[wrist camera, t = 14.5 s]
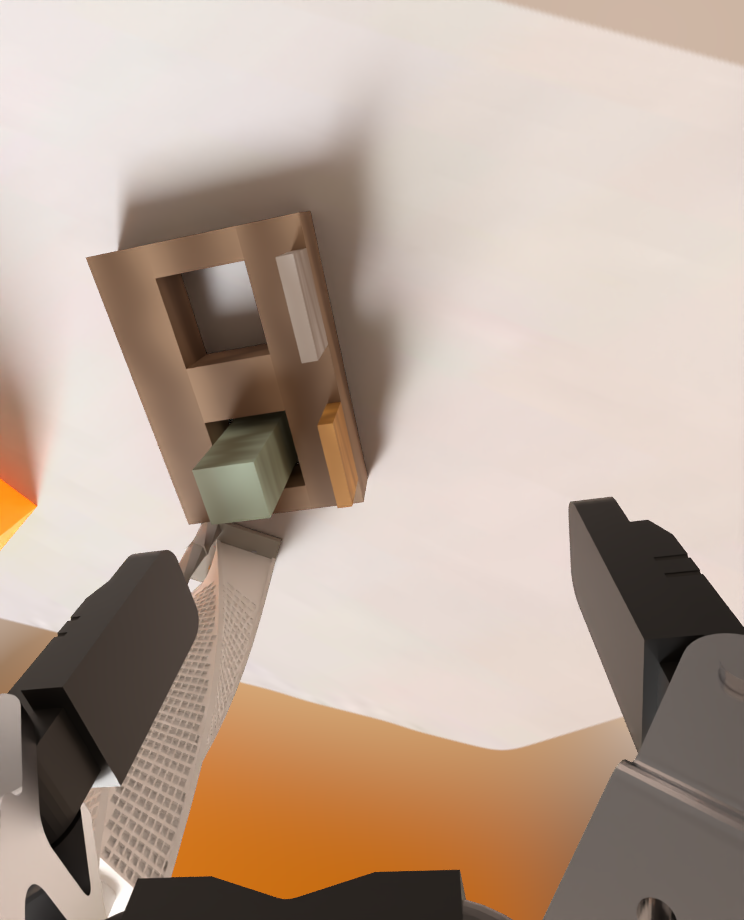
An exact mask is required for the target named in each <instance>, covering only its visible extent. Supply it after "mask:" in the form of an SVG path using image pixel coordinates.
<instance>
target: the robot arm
mask: <svg viewBox="0 0 744 920" xmlns="http://www.w3.org/2000/svg"><path fill="white" fill-rule="evenodd" d="M569 534H570V557H571V574H572V581H573V586H574V591H575V595H576V599H577V602H578V604H579V607H580V609H581V612H582V614H583V617H584V619H585V622H586V624H587V627H588V629H589V632H590V634H591V637H592V639H593V642H594V644H595V647H596V649H597V652H598V654H599V657H600V659H601V662H602V664H603V667H604V669H605V672H606V674H607V677H608V679H609V682H610V684H611V687H612V689H613V692H614V694H615V697H616V699H617V702H618V704H619V707H620V709H621V712H622V714H623V717H624V719H625V722H626V724H627V727H628V729H629V732H630V734H631V737H632V739H633V742H634V744H635V747H636V749H637V752H638V755H637V757H636V758H635V760H634V761H633V762H630V761H627V760H622V761H621V762H620V763H619V764H618V766H617V767H616V769H615V770H614V772H613V774H612V776H611V777H610V779H609V781H608V783H607V785H606V788H605V790H604V792H603V794H602V796H601V798H600V800H599V802H598V804H597V807H596V809H595V811H594V813H593V815H592V817H591V819H590V821H589V823H588V825H587V828H586V830H585V832H584V834H583V836H582V838H581V840H580V842H579V844H578V847H577V849H576V851H575V853H574V855H573V857H572V859H571V861H570V863H569V866H568V868H567V870H566V872H565V874H564V876H563V878H562V880H561V882H560V884H559V887H558V889H557V891H556V893H555V895H554V897H553V899H552V901H551V903H550V905H549V908H548V910H547V912H546V914H545V916H544V918H543V920H744V627H743V626H742V624H741V623H740V622H739V620H738V619H737V618H736V616H735V615H734V614H733V613H732V611H731V610H730V609H729V607H728V606H727V605H726V603H725V602H724V601H723V599H722V598H721V597H720V596H719V594H718V593H717V592H716V590H715V589H714V588H713V586H712V585H711V584H710V583H709V581H708V580H707V579H706V577H705V576H704V575H703V574H701V573H700V569H699V568H698V567H697V566H696V564H695V563H694V562H693V560H692V559H691V558H688V555H687V552H686V551H685V550H684V549H683V547H682V546H681V545H680V543H679V542H678V541H677V539H676V538H675V537H674V535H673V534H671V533H669V532H668V531H666V530H664V529H663V528H661V527H659V526H658V525H656V524H654V523H653V522H651V521H649V520H642V521H634V522H630V521H629V520H628V518H627V517H626V515H625V514H624V512H623V511H622V509H621V508H620V506H619V505H618V503H617V502H616V500H615V499H614V498H613V497H605V498H597V499H589V500H581V501H572V502H570V504H569ZM198 627H199V616H198V610H197V607H196V604H195V602H194V599H193V597H192V594H191V592H190V590H189V587H188V585H187V582H186V580H185V577H184V575H183V572H182V570H181V568H180V565H179V563H178V560H177V558H176V556H175V555H174V554H173V553H172V552H171V551H169V550H162V551H154V552H146V553H138V554H132V555H131V556H129V557H128V558H127V559H126V561H125V562H124V563H123V564H122V565H121V567H120V568H119V569H118V570H117V572H116V573H115V574H114V575H113V577H112V578H111V579H110V580H109V581H108V582H107V583H106V584H104V585H103V586H102V587H100V588H99V589H98V590H96V591H95V592H94V593H93V594H91V595H90V596H89V597H87V598H86V599H85V601H84V602H83V603H82V604H81V605H80V607H79V608H78V609H77V610H76V611H75V613H74V614H73V615H72V616H71V621H67V622H66V624H65V625H64V626H63V627H62V628H61V630H60V631H59V632H58V637H54V638H53V639H52V640H51V642H50V643H49V644H48V645H47V646H46V648H45V649H44V650H43V651H42V653H41V654H40V655H39V656H38V657H37V658H36V660H35V661H34V662H33V663H32V664H31V666H30V667H29V668H28V669H27V671H26V672H25V673H24V674H23V675H22V677H21V678H20V679H19V680H18V681H17V683H16V684H15V685H14V686H13V687H12V689H11V690H10V691H9V692H8V693H7V694H0V920H512V919H511V918H509V917H507V916H506V915H504V914H502V913H499V912H497V911H495V910H493V909H491V908H488V907H486V906H484V905H481V904H478V903H475V902H471V901H468V900H466V898H465V893H464V888H463V883H462V878H461V874H460V870H437V871H399V872H374V873H371V874H368V875H365V876H362V877H359V878H355V879H352V880H349V881H346V882H343V883H340V884H337V885H334V886H331V887H328V888H325V889H322V890H318V891H316V892H312V893H309V894H306V895H303V896H300V897H297V898H293V899H280V898H276V897H273V896H270V895H267V894H264V893H261V892H258V891H255V890H252V889H248V888H245V887H242V886H239V885H236V884H233V883H230V882H227V881H224V880H221V879H218V878H215V877H212V876H211V877H210V876H209V877H171V878H138V879H137V881H136V884H135V886H134V889H133V891H132V893H131V896H130V898H129V901H128V903H127V906H126V908H125V910H124V911H122V912H120V913H117V914H115V915H113V916H111V917H109V918H107V914H106V910H105V906H104V900H103V893H102V886H101V879H100V873H99V866H98V859H97V853H96V846H95V839H94V832H93V826H92V819H91V814H90V810H89V809H88V807H87V805H86V804H85V802H84V800H85V798H86V796H87V795H88V793H89V791H90V789H91V788H100V787H118V786H121V785H122V783H123V781H124V779H125V777H126V775H127V773H128V771H129V769H130V767H131V766H132V764H133V762H134V760H135V758H136V756H137V754H138V752H139V750H140V748H141V746H142V744H143V742H144V740H145V738H146V736H147V734H148V732H149V730H150V728H151V726H152V724H153V722H154V720H155V718H156V716H157V714H158V712H159V710H160V708H161V706H162V704H163V702H164V700H165V698H166V696H167V694H168V692H169V690H170V688H171V686H172V684H173V682H174V680H175V678H176V676H177V674H178V672H179V670H180V668H181V666H182V665H183V663H184V661H185V659H186V657H187V655H188V653H189V651H190V649H191V647H192V645H193V643H194V641H195V639H196V636H197V633H198Z"/></svg>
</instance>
